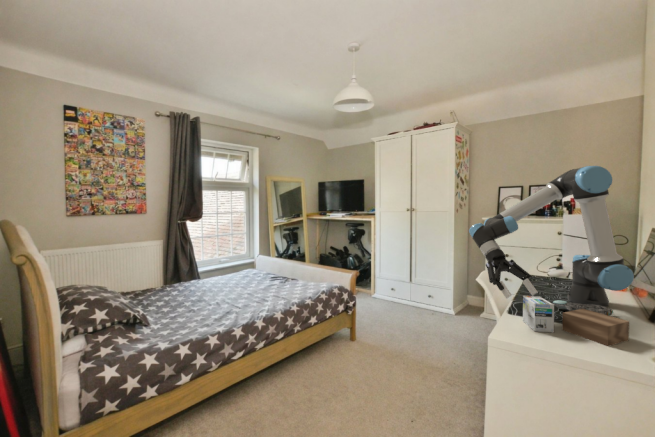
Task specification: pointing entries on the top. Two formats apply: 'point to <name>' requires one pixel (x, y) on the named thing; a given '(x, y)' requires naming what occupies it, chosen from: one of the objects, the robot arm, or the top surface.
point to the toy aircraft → (582, 307)
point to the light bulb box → (538, 313)
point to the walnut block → (596, 326)
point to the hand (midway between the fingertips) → (522, 295)
